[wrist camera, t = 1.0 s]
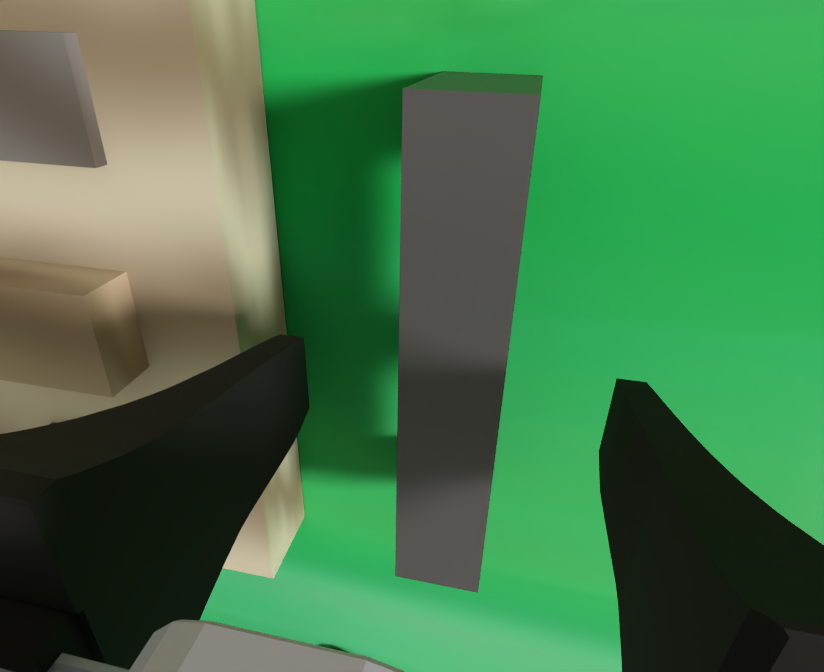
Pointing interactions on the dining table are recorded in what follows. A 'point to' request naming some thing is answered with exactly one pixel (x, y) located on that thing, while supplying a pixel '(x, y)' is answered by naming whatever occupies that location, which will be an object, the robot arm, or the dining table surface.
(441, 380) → the grey long bar
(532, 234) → the dining table surface
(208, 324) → the display stand
